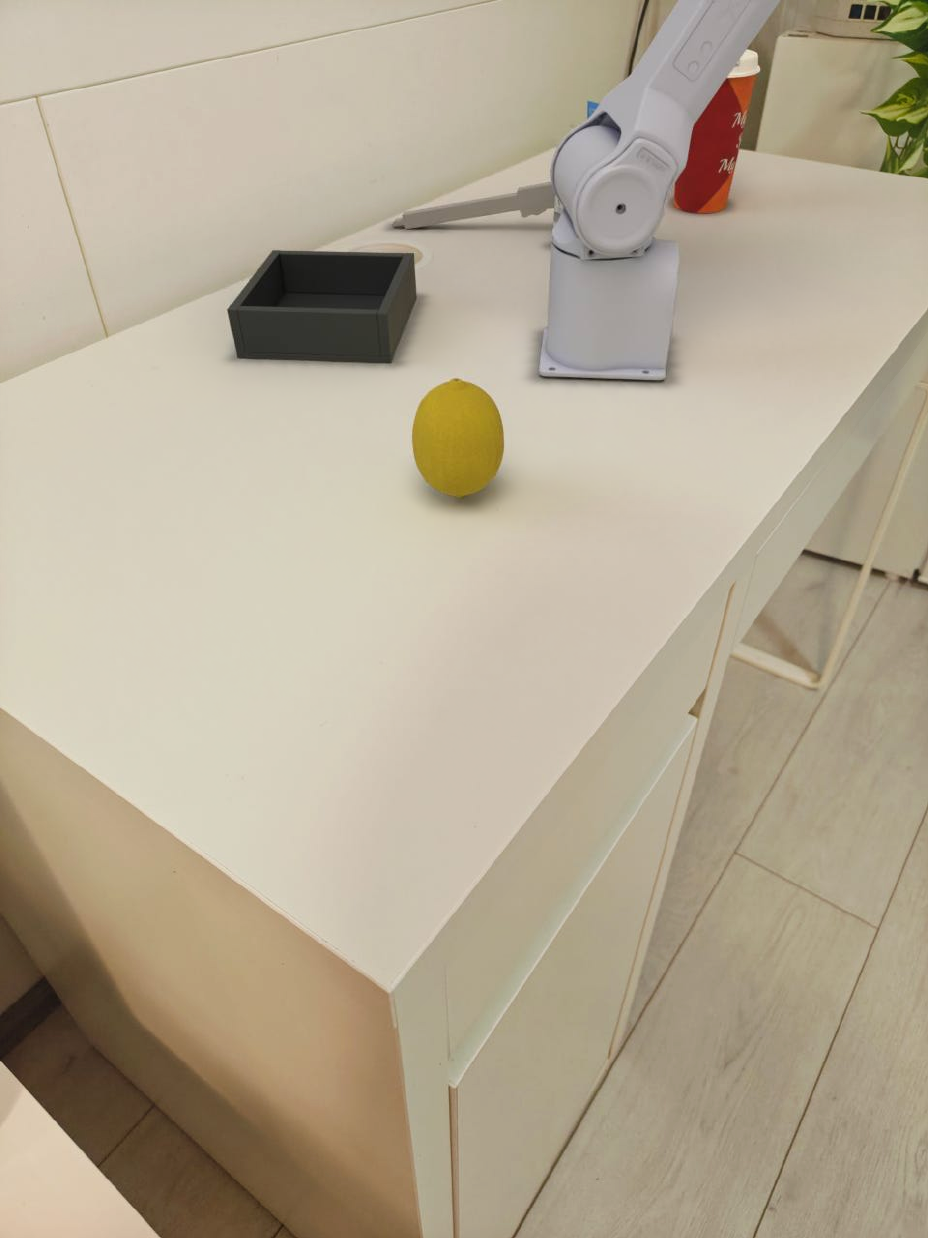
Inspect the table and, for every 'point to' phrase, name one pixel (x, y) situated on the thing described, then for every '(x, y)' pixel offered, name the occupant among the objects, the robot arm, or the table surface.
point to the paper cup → (717, 142)
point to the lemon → (458, 438)
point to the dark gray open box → (325, 306)
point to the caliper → (484, 207)
